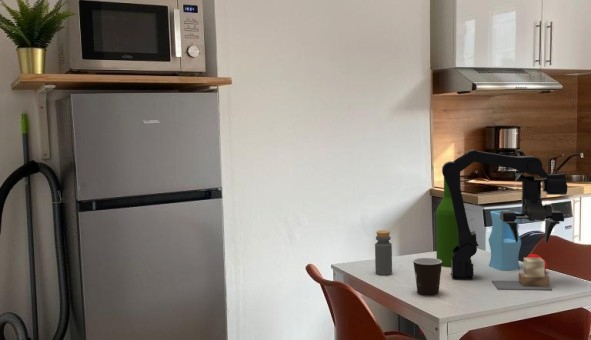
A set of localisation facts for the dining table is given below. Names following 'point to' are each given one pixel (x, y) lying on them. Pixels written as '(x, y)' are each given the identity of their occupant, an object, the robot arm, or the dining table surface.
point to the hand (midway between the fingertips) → (531, 242)
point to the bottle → (383, 253)
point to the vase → (503, 244)
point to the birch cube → (534, 267)
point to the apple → (536, 257)
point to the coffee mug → (427, 275)
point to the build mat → (515, 286)
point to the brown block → (534, 281)
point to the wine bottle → (446, 229)
